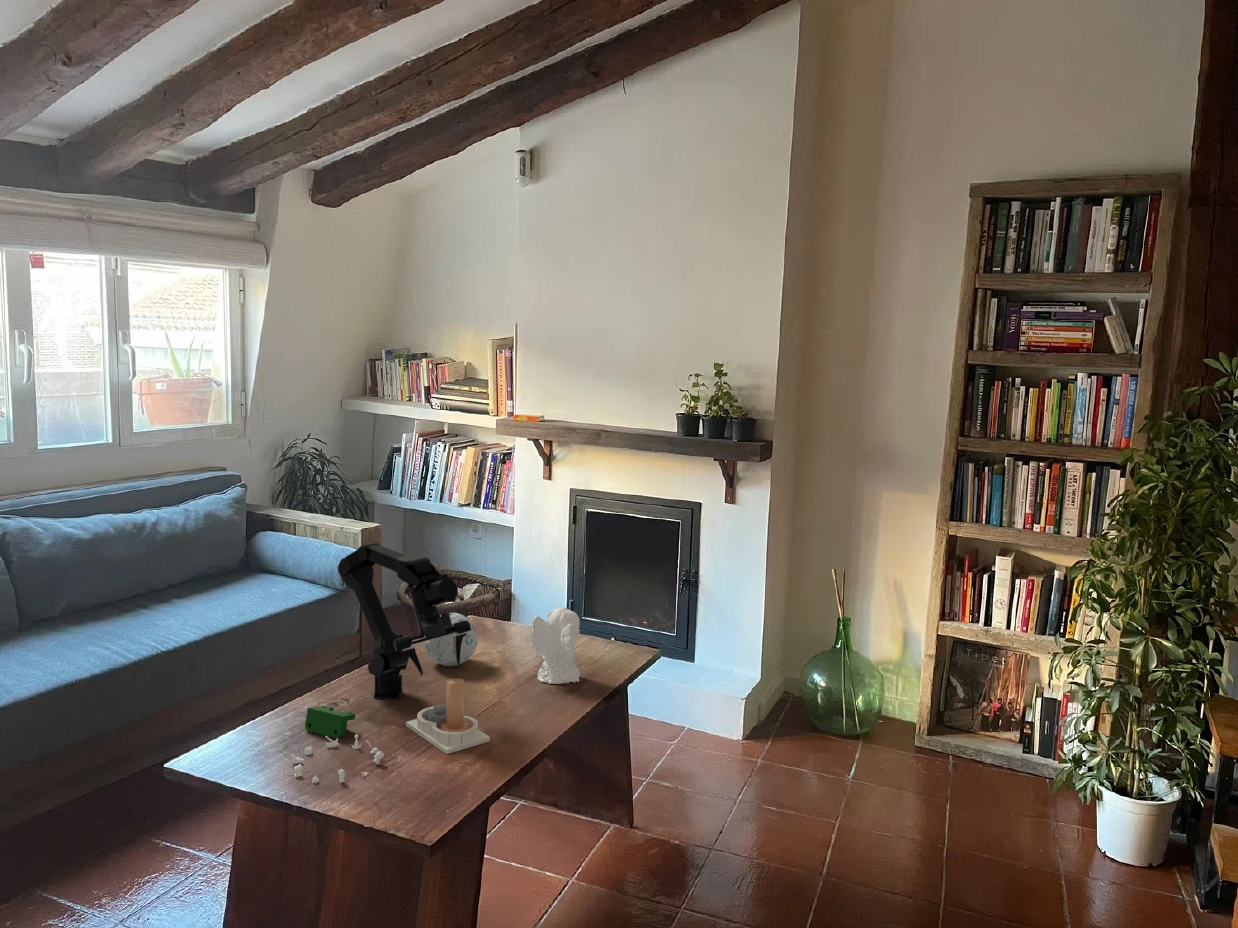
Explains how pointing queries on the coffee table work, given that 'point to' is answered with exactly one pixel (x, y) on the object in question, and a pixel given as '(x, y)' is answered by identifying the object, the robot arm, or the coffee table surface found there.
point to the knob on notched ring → (455, 707)
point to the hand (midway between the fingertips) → (440, 669)
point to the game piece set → (309, 750)
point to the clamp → (327, 721)
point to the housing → (443, 740)
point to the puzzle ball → (444, 646)
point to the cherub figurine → (557, 645)
